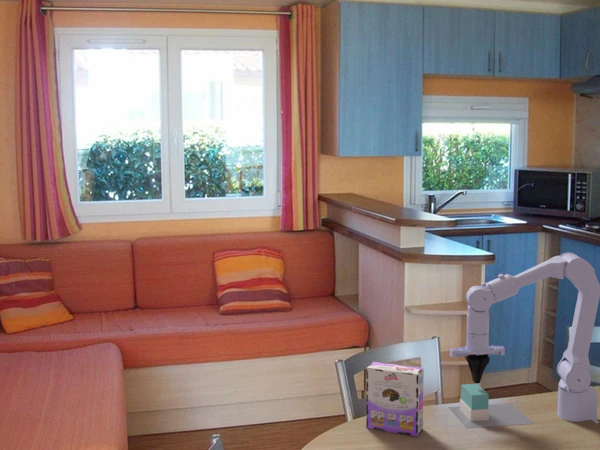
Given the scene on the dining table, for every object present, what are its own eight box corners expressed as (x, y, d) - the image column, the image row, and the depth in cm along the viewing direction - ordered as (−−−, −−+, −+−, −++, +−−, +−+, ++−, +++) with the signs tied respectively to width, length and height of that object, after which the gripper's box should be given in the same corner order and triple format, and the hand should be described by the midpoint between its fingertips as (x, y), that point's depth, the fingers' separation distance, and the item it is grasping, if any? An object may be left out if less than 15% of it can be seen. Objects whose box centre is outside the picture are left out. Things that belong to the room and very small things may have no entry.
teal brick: (476, 397, 200) (477, 383, 200) (488, 409, 192) (488, 394, 192) (460, 398, 200) (461, 384, 199) (471, 410, 192) (472, 395, 191)
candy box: (423, 428, 190) (424, 367, 188) (417, 437, 185) (418, 374, 182) (372, 420, 196) (373, 360, 193) (365, 428, 190) (365, 366, 188)
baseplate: (510, 406, 204) (511, 392, 204) (533, 427, 190) (534, 412, 190) (448, 410, 202) (448, 396, 201) (466, 431, 188) (467, 416, 187)
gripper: (497, 326, 199) (496, 375, 201) (445, 329, 197) (444, 378, 199) (508, 334, 192) (507, 384, 194) (455, 336, 190) (454, 387, 192)
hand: (476, 381), depth 196 cm, fingers closed
